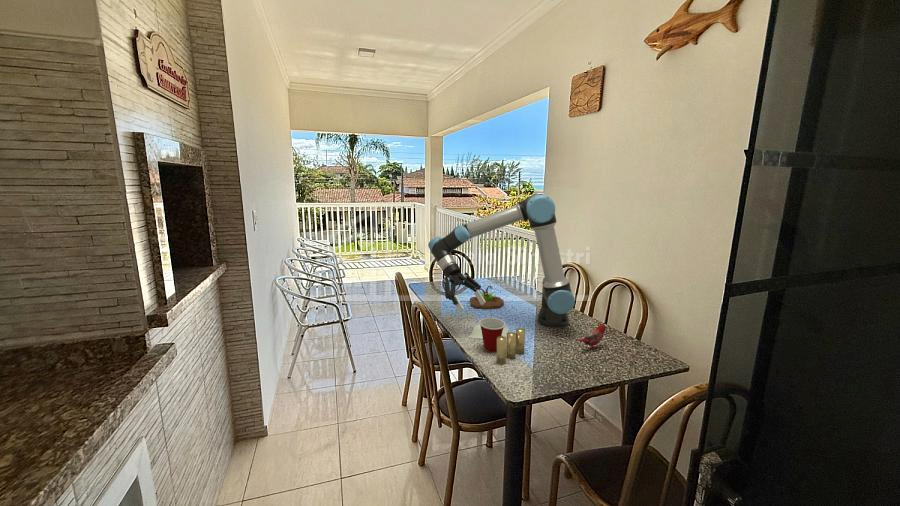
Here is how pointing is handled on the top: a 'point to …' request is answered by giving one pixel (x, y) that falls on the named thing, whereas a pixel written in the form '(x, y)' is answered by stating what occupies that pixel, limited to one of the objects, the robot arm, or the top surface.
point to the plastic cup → (491, 332)
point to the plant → (487, 301)
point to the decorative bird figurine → (594, 336)
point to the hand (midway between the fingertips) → (473, 307)
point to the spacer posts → (510, 345)
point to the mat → (478, 332)
